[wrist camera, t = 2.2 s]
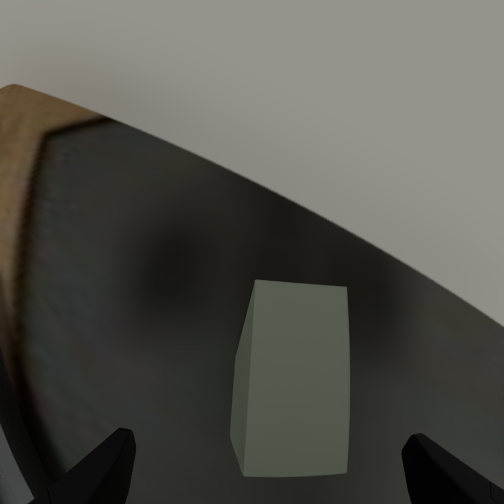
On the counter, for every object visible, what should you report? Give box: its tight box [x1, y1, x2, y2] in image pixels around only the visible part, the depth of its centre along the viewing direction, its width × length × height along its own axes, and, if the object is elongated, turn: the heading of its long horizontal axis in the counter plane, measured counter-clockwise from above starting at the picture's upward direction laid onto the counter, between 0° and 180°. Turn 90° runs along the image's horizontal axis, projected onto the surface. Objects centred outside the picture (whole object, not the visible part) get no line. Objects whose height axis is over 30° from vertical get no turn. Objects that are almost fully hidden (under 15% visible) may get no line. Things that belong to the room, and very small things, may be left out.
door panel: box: [230, 280, 350, 477], centre depth 12 cm, size 5×2×12 cm, turn 177°
